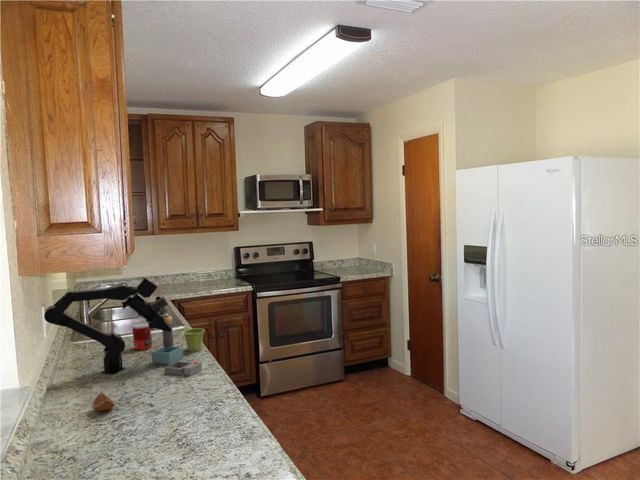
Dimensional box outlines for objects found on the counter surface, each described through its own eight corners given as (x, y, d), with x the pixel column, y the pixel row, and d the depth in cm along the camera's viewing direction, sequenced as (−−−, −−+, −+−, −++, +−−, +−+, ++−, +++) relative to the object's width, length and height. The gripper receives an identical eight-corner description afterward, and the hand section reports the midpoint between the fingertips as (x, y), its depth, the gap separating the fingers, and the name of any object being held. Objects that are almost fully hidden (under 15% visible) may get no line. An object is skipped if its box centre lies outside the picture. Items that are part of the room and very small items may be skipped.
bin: (169, 365, 196) (168, 353, 195) (152, 363, 199) (151, 351, 198) (183, 358, 204) (182, 346, 203) (166, 356, 207) (165, 345, 207)
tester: (190, 376, 182) (189, 366, 181) (164, 373, 186) (164, 364, 186) (202, 369, 189) (202, 360, 189) (177, 366, 193) (177, 357, 193)
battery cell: (172, 346, 198) (170, 315, 197) (162, 347, 198) (160, 315, 197) (174, 343, 202) (172, 312, 201) (164, 344, 202) (162, 313, 201)
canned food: (148, 350, 217) (146, 326, 216) (131, 351, 218) (129, 327, 217) (154, 345, 225) (153, 322, 224) (138, 346, 225) (136, 323, 224)
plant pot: (208, 346, 220) (207, 328, 219) (201, 353, 210) (200, 333, 210) (188, 346, 221) (187, 328, 220) (181, 353, 211) (179, 334, 211)
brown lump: (117, 412, 153) (116, 396, 152) (95, 418, 149) (93, 402, 149) (112, 403, 160) (111, 389, 159) (90, 409, 156) (89, 394, 155)
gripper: (155, 295, 188) (186, 319, 193) (154, 288, 206) (182, 310, 210) (135, 317, 186) (166, 341, 191) (135, 308, 203) (164, 330, 208)
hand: (170, 329), depth 200 cm, fingers closed on battery cell, 4 cm apart
